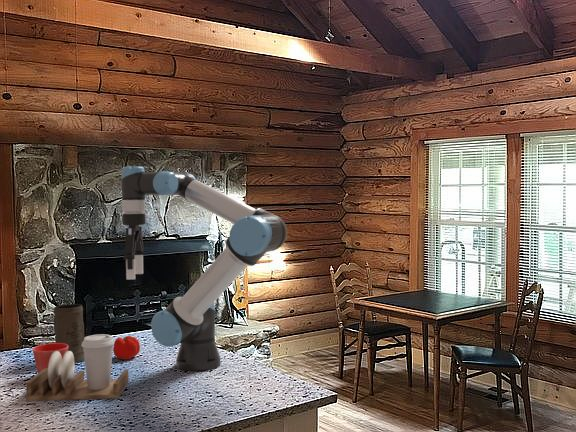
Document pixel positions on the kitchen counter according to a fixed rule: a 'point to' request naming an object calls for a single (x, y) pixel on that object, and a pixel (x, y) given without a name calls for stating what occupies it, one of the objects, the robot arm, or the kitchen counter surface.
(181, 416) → the kitchen counter surface
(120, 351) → the tomato
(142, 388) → the kitchen counter surface
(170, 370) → the kitchen counter surface
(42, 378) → the dish rack
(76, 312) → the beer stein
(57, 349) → the flower pot
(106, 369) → the coffee cup
